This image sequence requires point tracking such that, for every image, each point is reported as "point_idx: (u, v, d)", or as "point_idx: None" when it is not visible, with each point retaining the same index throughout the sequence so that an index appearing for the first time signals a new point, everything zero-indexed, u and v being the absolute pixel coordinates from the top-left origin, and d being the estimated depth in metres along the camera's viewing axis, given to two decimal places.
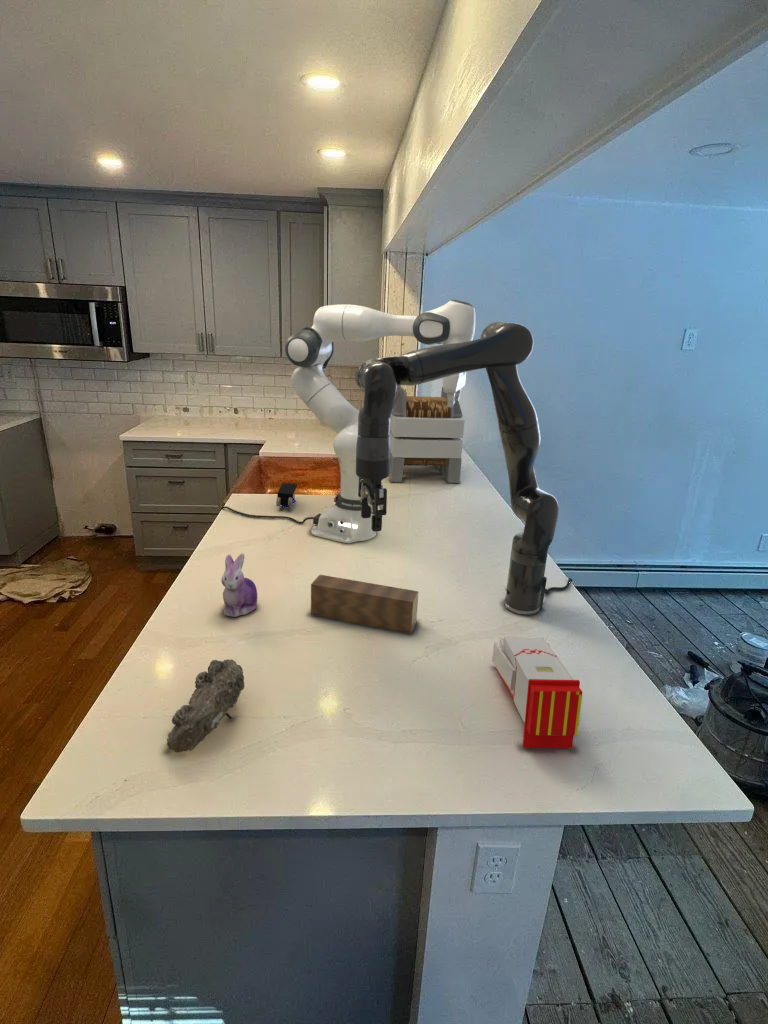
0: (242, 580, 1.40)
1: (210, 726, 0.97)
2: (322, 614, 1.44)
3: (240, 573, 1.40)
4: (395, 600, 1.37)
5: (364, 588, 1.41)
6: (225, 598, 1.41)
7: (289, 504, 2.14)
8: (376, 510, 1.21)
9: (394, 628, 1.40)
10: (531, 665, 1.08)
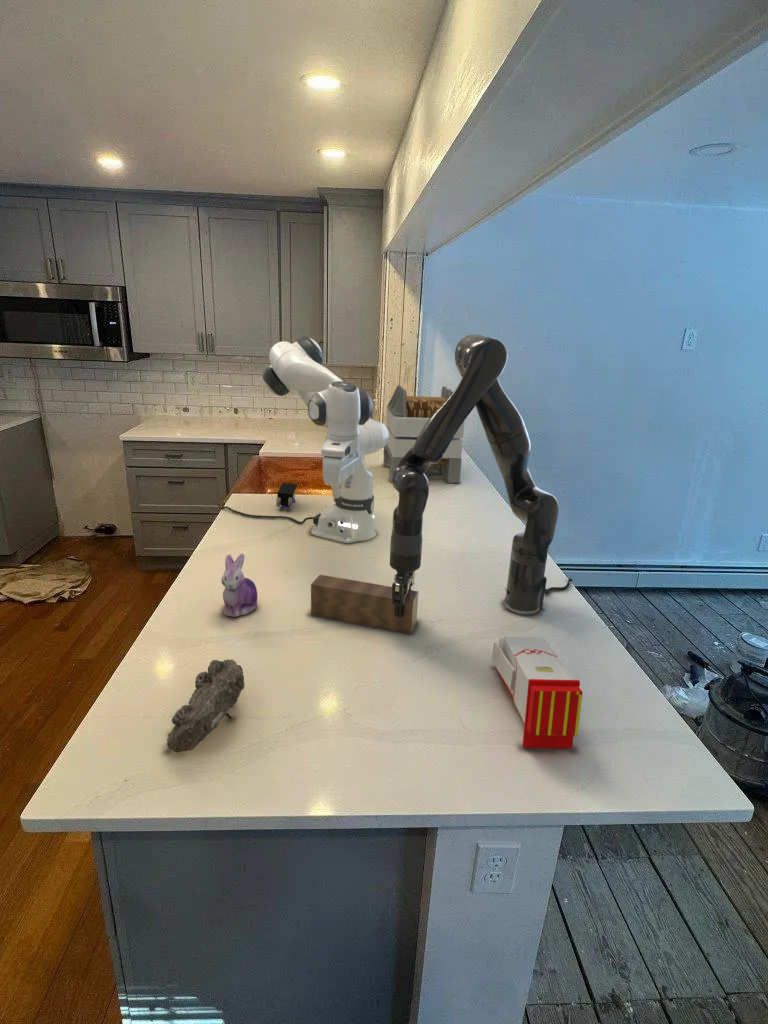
0: (242, 580, 1.40)
1: (210, 726, 0.97)
2: (322, 614, 1.44)
3: (240, 573, 1.40)
4: None
5: (364, 588, 1.41)
6: (225, 598, 1.41)
7: (289, 504, 2.14)
8: (392, 600, 1.34)
9: (394, 628, 1.40)
10: (531, 665, 1.08)
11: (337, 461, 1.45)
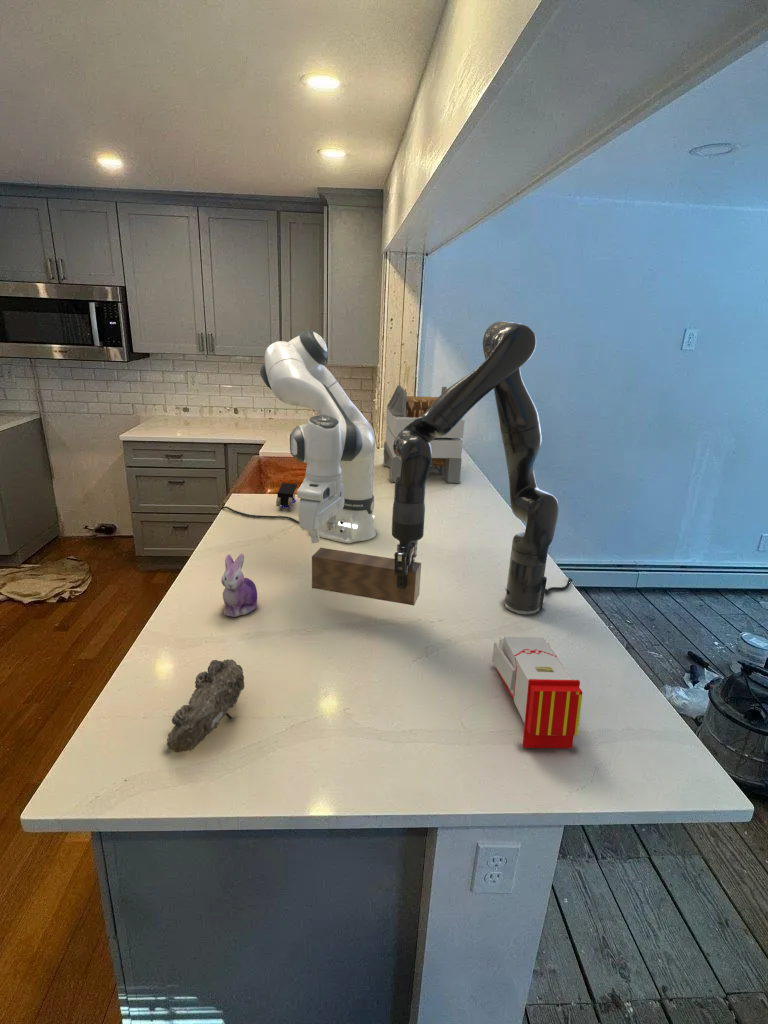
0: (242, 580, 1.40)
1: (210, 726, 0.97)
2: (323, 587, 1.42)
3: (240, 573, 1.40)
4: None
5: (366, 560, 1.39)
6: (225, 598, 1.41)
7: (289, 504, 2.14)
8: (395, 570, 1.31)
9: (397, 600, 1.37)
10: (531, 665, 1.08)
11: (314, 505, 1.31)
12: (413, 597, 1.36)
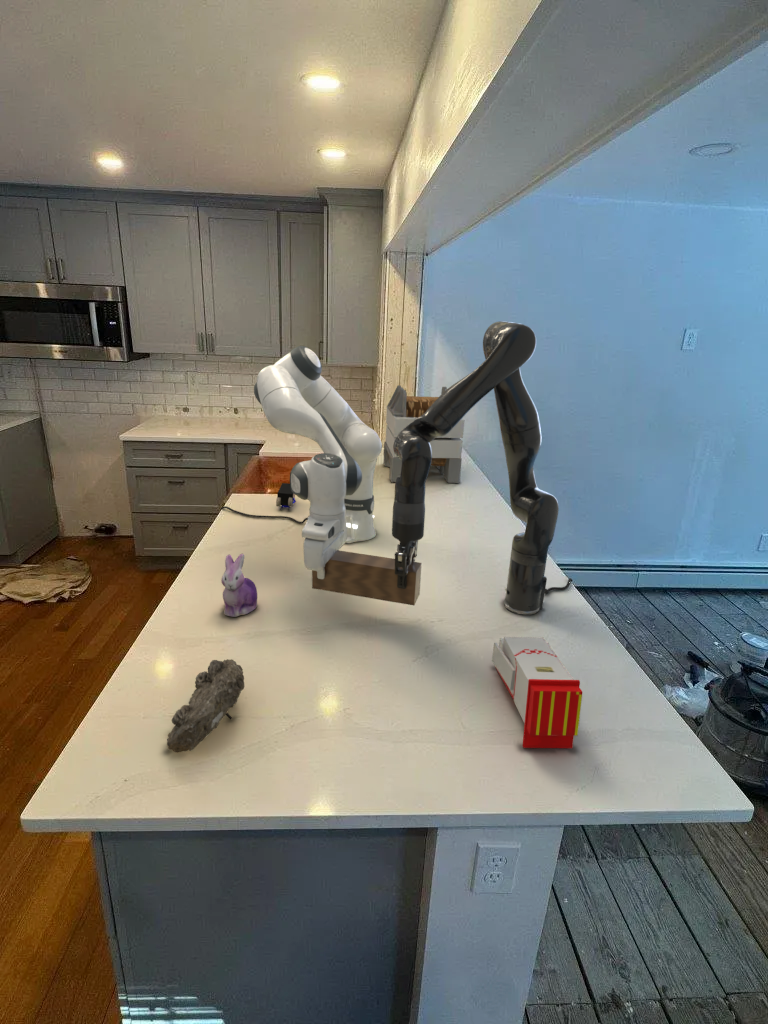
0: (242, 580, 1.40)
1: (210, 726, 0.97)
2: (324, 587, 1.42)
3: (240, 573, 1.40)
4: None
5: (366, 560, 1.39)
6: (225, 598, 1.41)
7: (289, 504, 2.14)
8: (395, 570, 1.31)
9: (397, 600, 1.37)
10: (531, 665, 1.08)
11: (319, 545, 1.31)
12: (413, 597, 1.36)
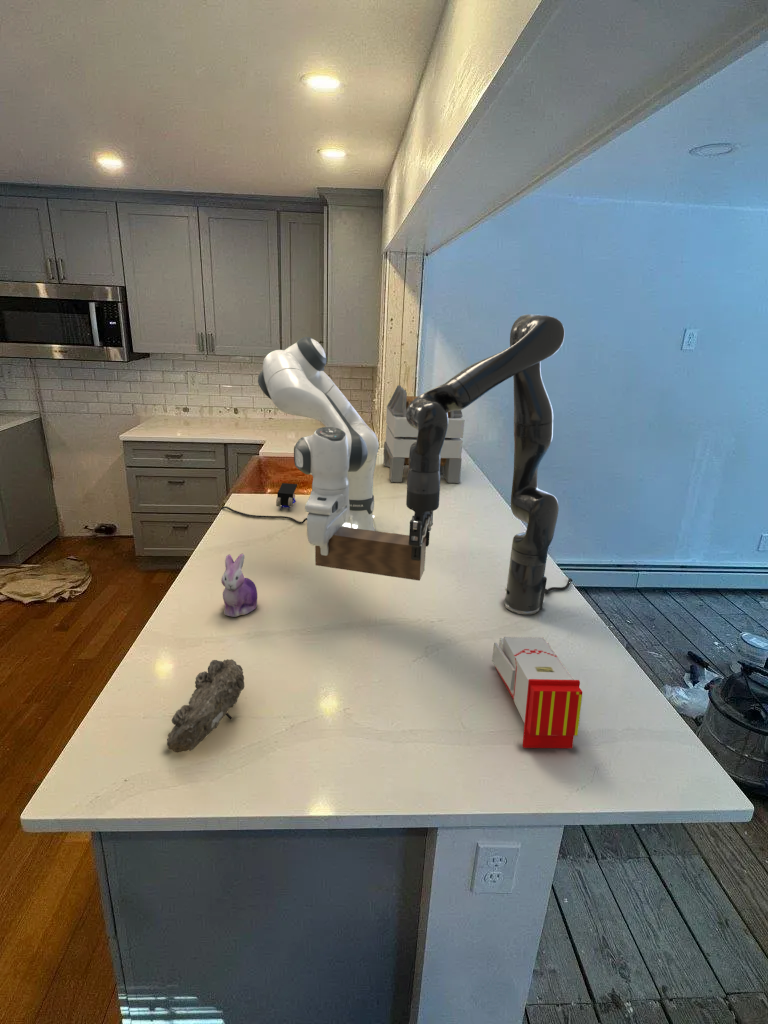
0: (242, 580, 1.40)
1: (210, 726, 0.97)
2: (327, 564, 1.40)
3: (240, 573, 1.40)
4: (402, 545, 1.32)
5: (371, 536, 1.37)
6: (225, 598, 1.41)
7: (289, 504, 2.14)
8: (409, 540, 1.27)
9: (402, 575, 1.35)
10: (531, 665, 1.08)
11: (323, 519, 1.29)
12: (419, 572, 1.34)
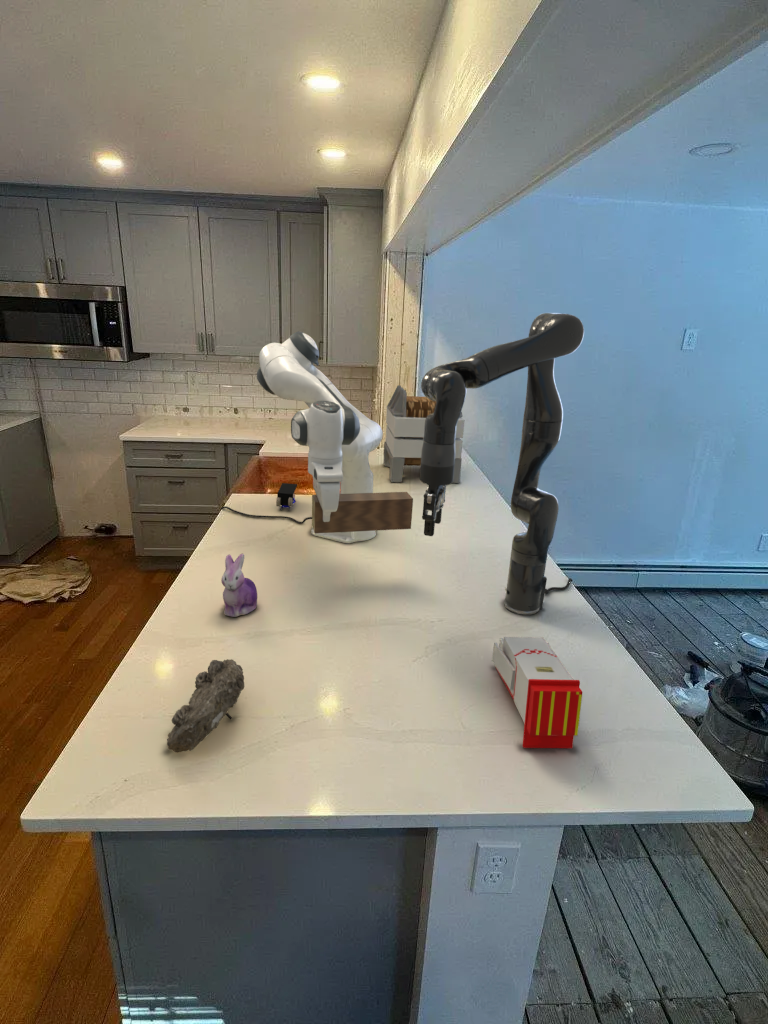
0: (242, 580, 1.40)
1: (210, 726, 0.97)
2: (326, 530, 1.49)
3: (240, 573, 1.40)
4: (397, 500, 1.51)
5: (364, 497, 1.51)
6: (225, 598, 1.41)
7: (289, 504, 2.14)
8: (423, 514, 1.24)
9: (396, 527, 1.54)
10: (531, 665, 1.08)
11: (336, 486, 1.39)
12: (410, 521, 1.54)
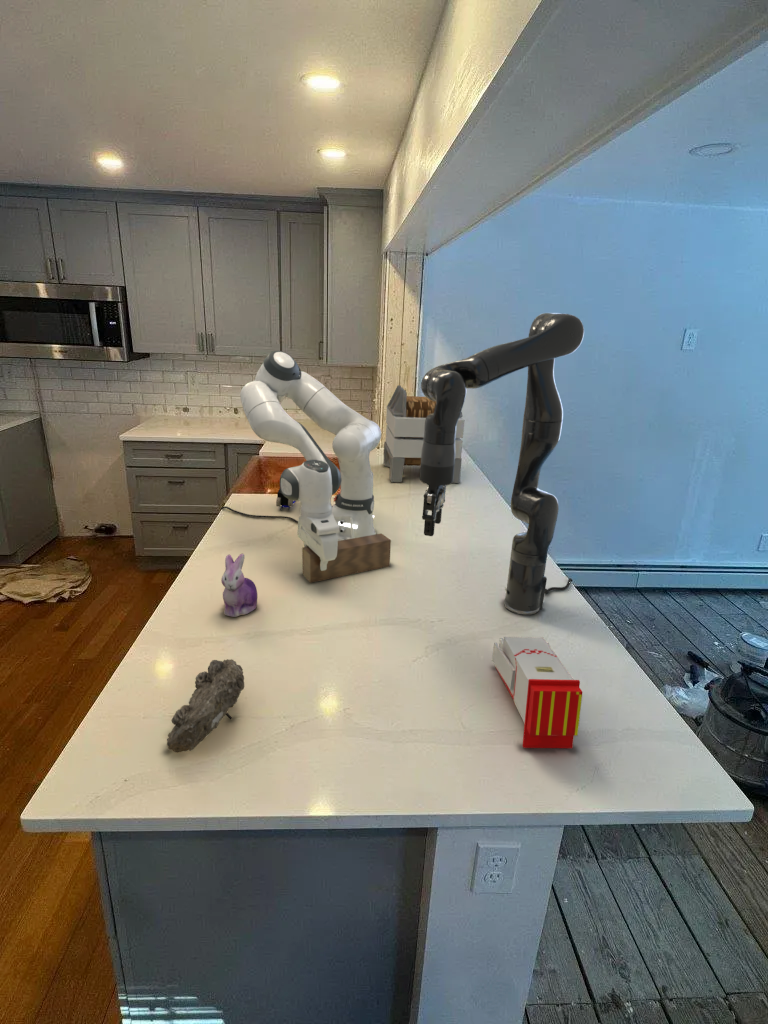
0: (242, 580, 1.40)
1: (210, 726, 0.97)
2: (320, 578, 1.63)
3: (240, 573, 1.40)
4: (378, 543, 1.70)
5: (349, 544, 1.67)
6: (225, 598, 1.41)
7: (289, 504, 2.14)
8: (423, 514, 1.24)
9: (378, 566, 1.72)
10: (531, 665, 1.08)
11: (335, 537, 1.54)
12: (389, 559, 1.74)
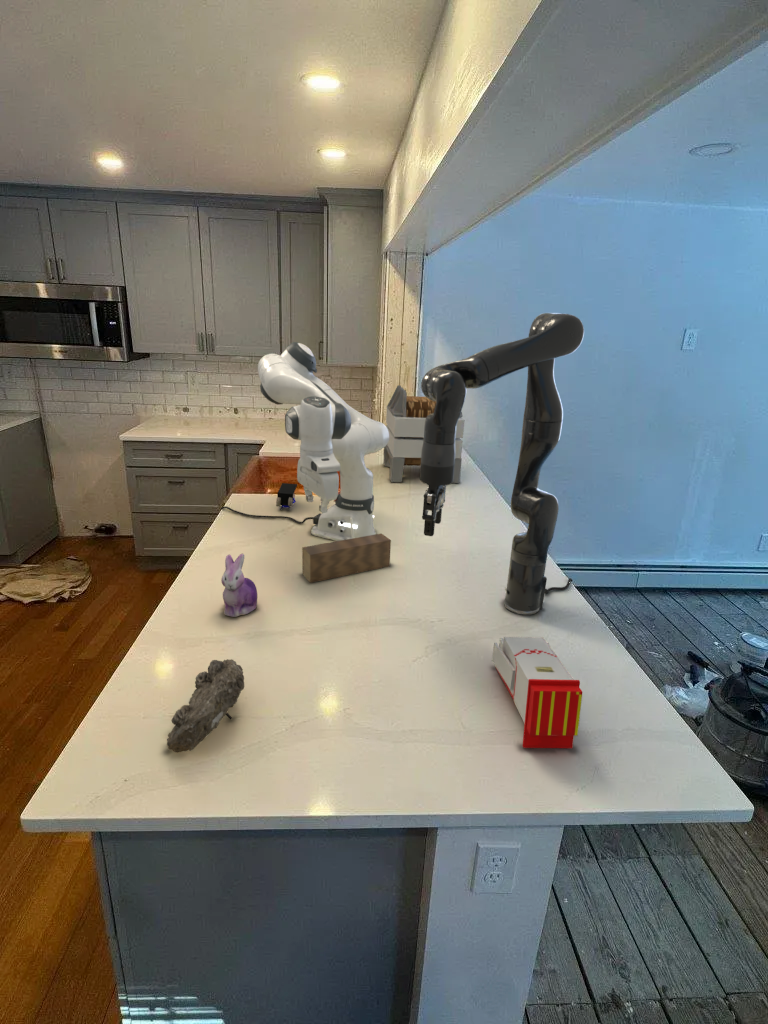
0: (242, 580, 1.40)
1: (210, 726, 0.97)
2: (320, 578, 1.63)
3: (240, 573, 1.40)
4: (378, 543, 1.70)
5: (349, 544, 1.67)
6: (225, 598, 1.41)
7: (289, 504, 2.14)
8: (423, 514, 1.24)
9: (378, 566, 1.72)
10: (531, 665, 1.08)
11: (335, 475, 1.48)
12: (389, 559, 1.74)
